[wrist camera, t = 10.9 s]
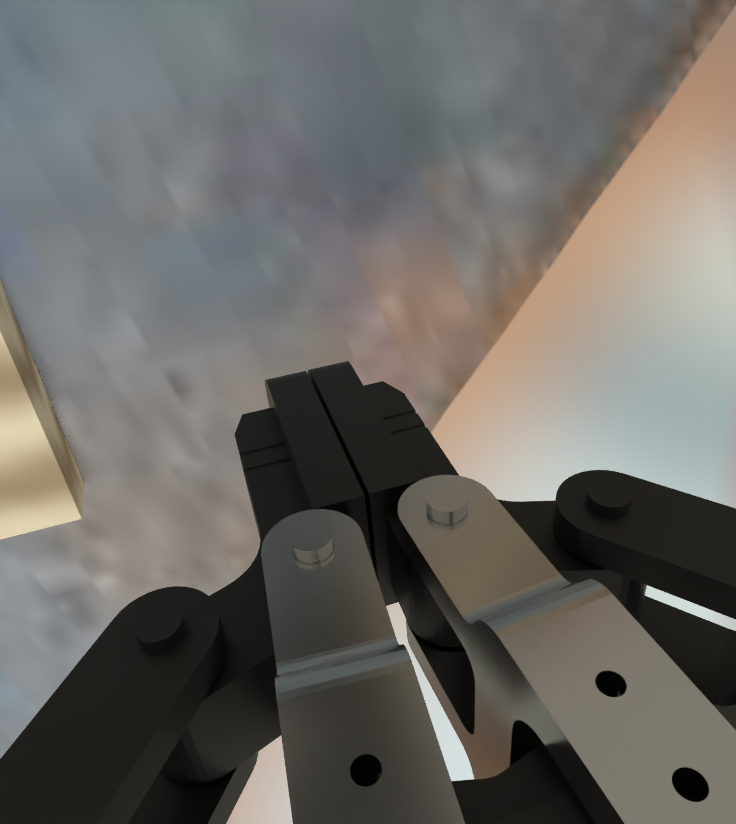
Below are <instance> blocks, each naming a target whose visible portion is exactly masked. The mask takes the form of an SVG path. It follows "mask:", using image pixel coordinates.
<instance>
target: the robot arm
mask: <svg viewBox="0 0 736 824" xmlns="http://www.w3.org/2000/svg"><path fill="white" fill-rule="evenodd" d="M265 386H266V392H267V397H268V402H269V407H270V408H268V409H264V410H260V411H255V412H251V413H247V414H243V415H242V417H241V420H240V422H239V425H238V427H237V430H236V432H235V438H236V442H237V446H238V450H239V454H240V459H241V463H242V467H243V471H244V475H245V480H246V484H247V488H248V492H249V496H250V501H251V505H252V509H253V512H254V516H255V520H256V524H257V528H258V532H259V536H260V540H261V541H260V548H259V551H258V554H257V556H256V558H255V560H254V561H253V563H252V564H251V566H250V567H249V568H248V569H247V570H246V571H245V572H244V574H242V575H241V576H240V577H239V578H238V579H236V580H235V581H234V582H232V583H230V584H229V585H227V586H226V587H224V588H222V589H221V590H219V591H217V592H215V593H214V594H212V595H210V596H208V595H206V594H205V593H203V592H201V591H199V590H197V589H194V588H189V587H177V586H175V587H166V588H162V589H158V590H155V591H152V592H149V593H147V594H145V595H143V596H141V597H139V598H137V599H136V600H134V601H133V602H131V603H130V604H128V605H127V606H126V607H125V608H124V609H122V610H121V611H120V612H119V614H118V615H117V616H116V617H115V618H114V619H113V620H112V622H111V623H110V624H109V625H108V627H107V628H106V629H105V630H104V631H103V633H102V634H101V635H100V636H99V638H98V639H97V640H96V641H95V643H94V644H93V645H92V646H91V648H90V649H89V650H88V651H87V653H86V654H85V655H84V656H83V657H82V659H81V660H80V661H79V662H78V664H77V665H76V666H75V667H74V669H73V670H72V671H71V672H70V674H69V675H68V676H67V677H66V679H65V680H64V681H63V682H62V683H61V685H60V686H59V687H58V688H57V690H56V691H55V692H54V693H53V695H52V696H51V697H50V698H49V700H48V701H47V702H46V703H45V705H44V706H43V707H42V708H41V709H40V711H39V712H38V713H37V714H36V716H35V717H34V718H33V719H32V721H31V722H30V723H29V724H28V726H27V727H26V728H25V729H24V730H23V732H22V733H21V734H20V735H19V737H18V738H17V739H16V740H15V742H14V743H13V744H12V745H11V747H10V748H9V749H8V750H7V752H6V753H5V754H4V755H3V756H2V758H1V759H0V824H226V822H227V821H228V819H229V817H230V815H231V813H232V810H233V809H234V807H235V805H236V803H237V801H238V799H239V797H240V795H241V793H242V791H243V789H244V787H245V785H246V783H247V781H248V779H249V777H250V775H251V773H252V771H253V769H254V766H255V764H256V761H257V757H258V751H260V750H261V749H262V748H263V747H265V746H267V745H268V744H269V743H271V742H272V741H273V740H275V739H276V738H278V737H279V736H280V735H281V736H282V743H283V751H284V758H285V766H286V773H287V781H288V789H289V796H290V803H291V811H292V819H293V824H736V631H733V630H731V629H727V628H725V627H722V626H720V625H718V624H715V623H713V622H710V621H707V620H705V619H702V618H700V617H697V616H695V615H692V614H690V613H687V612H684V611H682V610H679V609H677V608H675V607H672V606H670V605H667V604H664V603H662V602H659V601H657V600H654V599H652V598H649V597H647V596H644V595H645V590H646V586H647V585H648V586H651V587H653V588H656V589H659V590H661V591H664V592H667V593H669V594H672V595H674V596H677V597H680V598H682V599H685V600H687V601H690V602H692V603H695V604H698V605H700V606H703V607H705V608H708V609H710V610H713V611H716V612H718V613H721V614H723V615H726V616H729V617H731V618H734V619H736V509H735V508H732V507H729V506H726V505H723V504H719V503H716V502H713V501H709V500H706V499H703V498H700V497H697V496H693V495H691V494H687V493H684V492H680V491H678V490H675V489H671V488H668V487H665V486H661V485H658V484H655V483H652V482H649V481H646V480H643V479H639V478H636V477H633V476H630V475H627V474H623V473H619V472H614V471H607V470H592V471H585V472H581V473H578V474H575V475H573V476H571V477H569V478H568V479H566V480H565V481H564V482H563V483H562V484H561V485H560V487H559V489H558V491H557V495H556V501H529V502H511V501H503V500H497V499H496V498H495V496H494V495H493V494H492V493H491V492H490V491H489V490H488V489H487V488H486V487H485V486H483V485H482V484H480V483H479V482H477V481H474V480H472V479H469V478H466V477H462V476H459V475H458V473H457V472H456V470H455V469H454V467H453V466H452V464H451V463H450V461H449V460H448V458H447V457H446V455H445V454H444V452H443V451H442V449H441V448H440V446H439V445H438V443H437V442H436V441H435V439H434V437H433V436H432V434H431V433H430V431H429V430H428V428H427V427H426V428H425V425H424V423H423V421H422V420H421V418H420V417H419V415H418V414H416V412H415V409H414V408H413V406H412V405H411V403H410V402H409V400H408V399H407V397H406V396H405V394H404V393H402V392H401V391H399V390H397V389H396V388H394V387H392V386H390V385H389V384H387V383H385V382H383V381H382V382H378V383H373V384H369V385H365V386H363V384H362V383H361V381H360V379H359V377H358V376H357V374H356V372H355V371H354V369H353V367H352V366H351V364H350V363H349V362H348V361H346V362H342V363H337V364H333V365H329V366H324V367H320V368H315V369H311V370H308V374H307V372H306V371H303V372H299V373H294V374H290V375H285V376H281V377H277V378H272V379H268V380H265ZM397 602H399V604H400V606H401V608H402V610H403V613H404V615H405V617H406V627H407V638H408V642H409V645H410V647H411V649H412V651H413V653H414V655H415V657H416V659H417V661H418V662H419V664H420V666H421V668H422V670H423V672H424V673H425V676H426V678H427V679H428V681H429V683H430V685H431V687H432V689H433V691H434V692H435V694H436V696H437V698H438V700H439V702H440V704H441V705H442V707H443V709H444V711H445V713H446V715H447V717H448V719H449V720H450V722H451V724H452V726H453V728H454V730H455V731H456V733H457V735H458V737H459V739H460V741H461V743H462V745H463V746H464V749H465V751H466V753H467V756H468V758H469V761H470V764H471V767H472V771H473V775H474V780H462V781H451V779H450V776H449V773H448V770H447V767H446V764H445V761H444V758H443V755H442V752H441V749H440V746H439V743H438V740H437V737H436V734H435V731H434V728H433V725H432V722H431V719H430V716H429V713H428V709H427V707H426V703H425V700H424V697H423V694H422V691H421V688H420V685H419V682H418V679H417V676H416V673H415V670H414V667H413V664H412V661H411V659H410V656H409V653H408V652H407V649H406V647H405V646H404V645H399V644H398V642H397V639H396V636H395V633H394V630H393V627H392V624H391V621H390V618H389V615H388V611H387V609H386V606H387V605H390V604H393V603H397Z"/></svg>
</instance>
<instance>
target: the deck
mask: <svg viewBox="0 0 736 824" xmlns="http://www.w3.org/2000/svg"><path fill="white" fill-rule="evenodd" d="M83 486H84V482H83V479H82V477H81V474H80V472H79V469H78V467H77V465H76V462H75V460H74V457H73V455H72V453H71V450H70V448H69V445H68V443H67V440H66V438H65V436H64V433H63V431H62V428H61V426H60V424H59V421H58V419H57V416H56V414H55V411H54V409H53V407H52V404H51V402H50V399H49V397H48V395H47V392H46V390H45V387H44V385H43V382H42V380H41V378H40V375H39V373H38V370H37V368H36V366H35V363H34V361H33V358H32V356H31V353H30V351H29V349H28V346H27V344H26V341H25V339H24V337H23V334H22V332H21V329H20V327H19V324H18V322H17V320H16V317H15V315H14V312H13V310H12V308H11V305H10V303H9V300H8V298H7V295H6V293H5V291H4V288H3V286H2V283H1V281H0V539H4V538H8V537H12V536H16V535H20V534H24V533H28V532H32V531H36V530H39V529H43V528H47V527H51V526H55V525H59V524H63V523H67V522H71V521H75V520H79V519H82V504H83Z"/></svg>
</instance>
